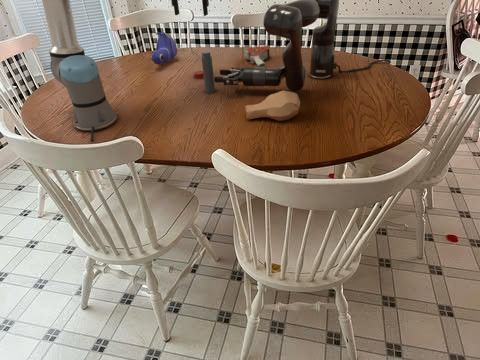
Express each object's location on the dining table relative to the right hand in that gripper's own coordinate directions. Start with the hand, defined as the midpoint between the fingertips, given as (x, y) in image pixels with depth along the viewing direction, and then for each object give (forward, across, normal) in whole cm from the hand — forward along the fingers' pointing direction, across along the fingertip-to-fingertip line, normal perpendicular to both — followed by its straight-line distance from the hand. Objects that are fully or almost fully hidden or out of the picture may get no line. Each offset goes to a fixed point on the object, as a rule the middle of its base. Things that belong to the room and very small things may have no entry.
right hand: (217, 75), depth 148 cm
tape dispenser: (-10, -38, +6) cm, 40 cm away
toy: (+38, -32, +6) cm, 50 cm away
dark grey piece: (+4, 0, +7) cm, 8 cm away
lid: (+14, -16, +5) cm, 22 cm away
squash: (-27, +22, +7) cm, 35 cm away
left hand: (+14, -16, -20) cm, 29 cm away
